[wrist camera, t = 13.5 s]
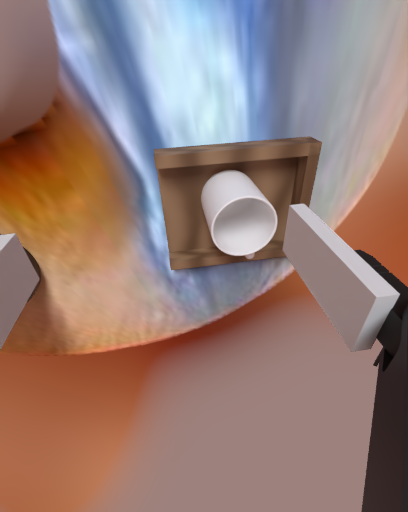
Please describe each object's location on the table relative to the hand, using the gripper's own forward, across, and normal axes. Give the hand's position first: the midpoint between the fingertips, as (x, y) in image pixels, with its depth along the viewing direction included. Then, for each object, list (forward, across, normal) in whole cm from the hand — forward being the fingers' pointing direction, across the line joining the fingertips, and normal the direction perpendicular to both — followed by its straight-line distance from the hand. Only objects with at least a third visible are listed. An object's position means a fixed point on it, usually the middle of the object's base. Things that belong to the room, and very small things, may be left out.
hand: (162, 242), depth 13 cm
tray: (+27, +10, -11) cm, 31 cm away
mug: (+26, +9, -11) cm, 30 cm away
